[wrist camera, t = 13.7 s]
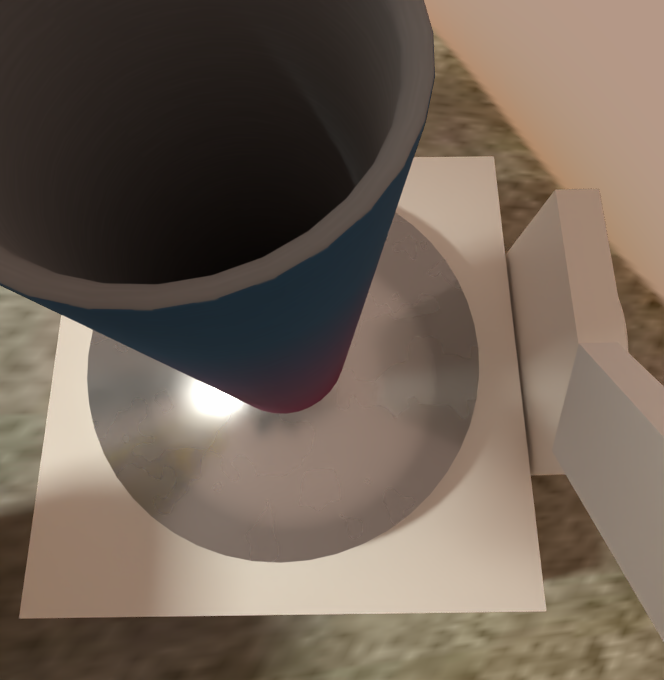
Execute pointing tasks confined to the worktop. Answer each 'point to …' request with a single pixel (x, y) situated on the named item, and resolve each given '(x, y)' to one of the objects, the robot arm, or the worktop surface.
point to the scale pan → (303, 426)
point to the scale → (432, 514)
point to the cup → (210, 175)
